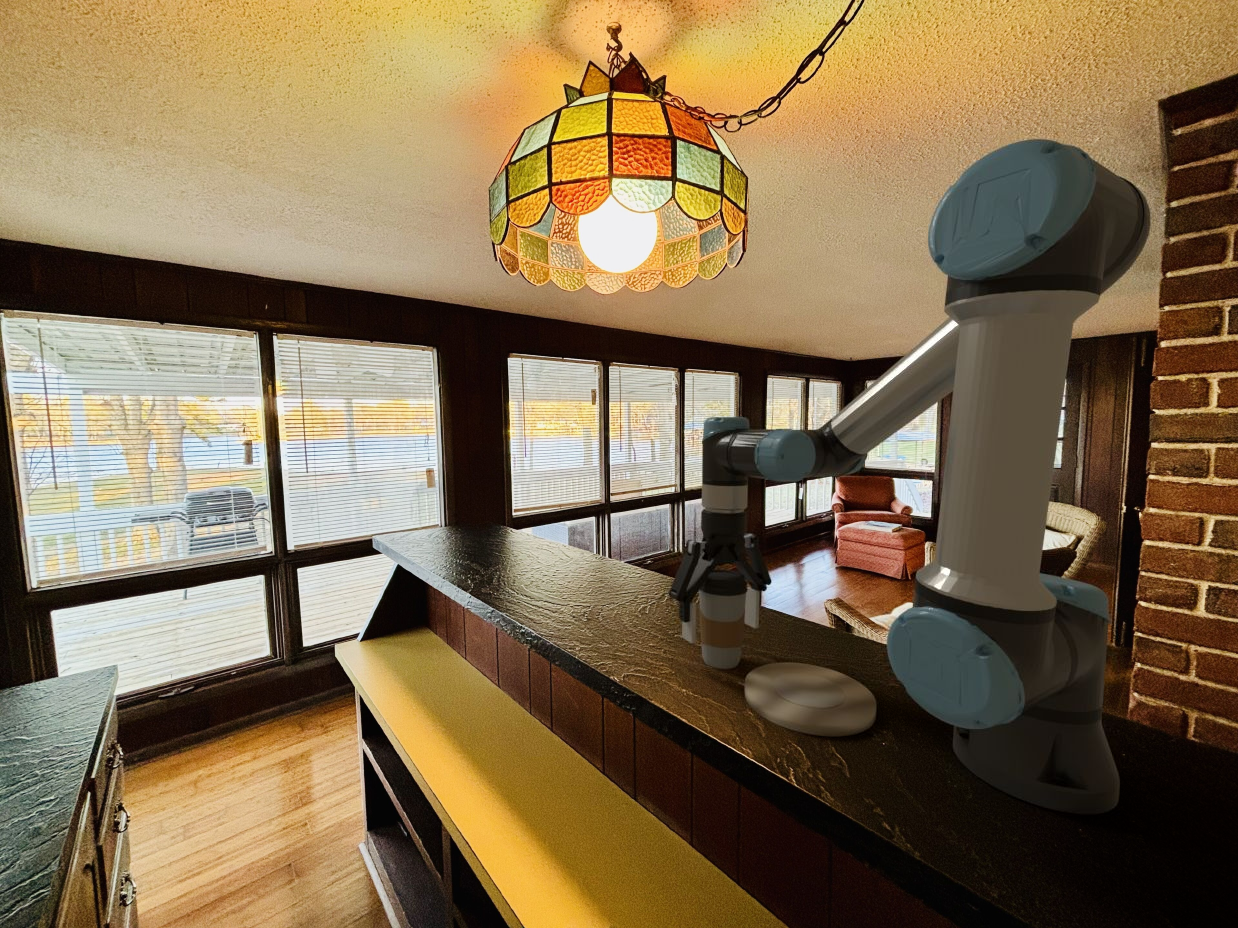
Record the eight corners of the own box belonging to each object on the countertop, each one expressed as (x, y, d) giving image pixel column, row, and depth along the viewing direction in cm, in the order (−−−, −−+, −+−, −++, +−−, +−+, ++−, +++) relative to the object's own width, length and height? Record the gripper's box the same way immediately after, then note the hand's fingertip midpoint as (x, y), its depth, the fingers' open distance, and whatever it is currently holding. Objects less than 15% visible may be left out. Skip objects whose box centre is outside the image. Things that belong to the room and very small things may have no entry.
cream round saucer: (904, 714, 72) (904, 702, 72) (813, 751, 64) (814, 738, 63) (803, 662, 88) (803, 653, 88) (719, 687, 79) (719, 676, 79)
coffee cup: (747, 674, 83) (749, 583, 82) (695, 669, 85) (696, 580, 84) (745, 653, 92) (747, 569, 91) (697, 648, 93) (699, 567, 92)
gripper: (763, 501, 96) (760, 613, 97) (648, 510, 84) (647, 637, 85) (794, 507, 89) (790, 627, 91) (675, 518, 77) (672, 655, 79)
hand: (721, 632), depth 88 cm, fingers open, 13 cm apart
